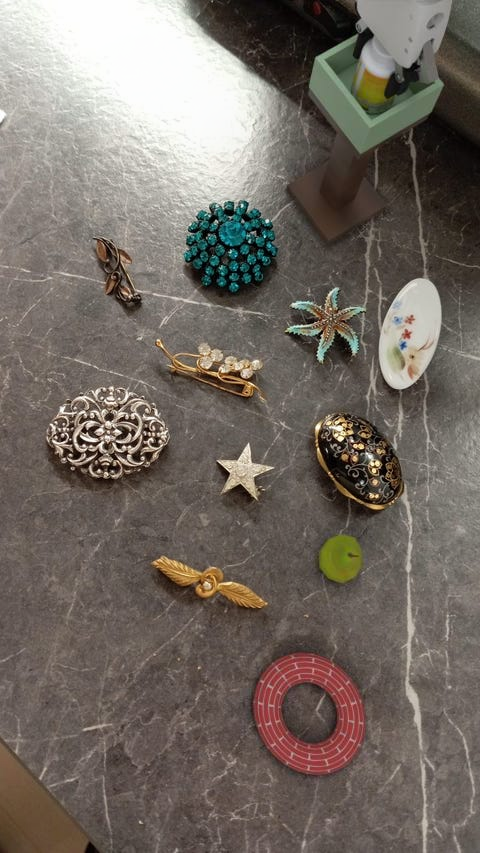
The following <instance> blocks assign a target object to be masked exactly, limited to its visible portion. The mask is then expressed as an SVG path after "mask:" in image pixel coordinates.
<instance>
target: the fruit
mask: <svg viewBox="0 0 480 853" xmlns="http://www.w3.org/2000/svg"><path fill="white" fill-rule="evenodd" d="M363 560H364V559H363V550H362V548H361V546H360V544H359V543H358V541H357V539H356V538H355V537H354V536H351V535H347V534H342V533H341V534H338V535H336V536H335V535H334V536H333V537H331V538H328V539H327V540H326V541H325V543H324V544H323V546H322V547H321V548H320V550H319V551H318V567H319V569H320V570H321V571H322V572H323V574H324V575H325V577H327V579H329V580H331V581H334V582H337V583H340V584H344V583H346V582H349V581H350V580H353V579H355V578H356V577H357V576H358V574H359V572H360V571H361V569H362V568H363V566H364V561H363Z"/></svg>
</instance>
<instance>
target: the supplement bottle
mask: <svg viewBox="0 0 480 853" xmlns="http://www.w3.org/2000/svg"><path fill="white" fill-rule="evenodd" d="M393 73H395V60H394V58H393V57H392V56H391V55H390V54H389V52H388V51H387V50H386V49H385V47H384V46H383V45H382V44H381V42H380V41H379V40H378V39H377V37H376V36H375V35H374V37H373V38H371V39H370V40H368V41H367V42H366V44H365V45H364V47H363V49H362V52H361V55H360V59H359V62H358V66H357V69H356V72H355V76H354V79H353V83H352V86H351V94H352V96H353V97H354V98H355V100H356V101H357V102H358V103H359V105H360V106H361V107H362V109H363V110H364V111H365V112H367V113H380V112H383V111H385V110H386V109H388V108H389V107H390V106H391V104H392V103H393V100H394V98H395V95H394V96H392V97H391V98H389V99H386V98H385V96H384V92H385V89H386V86H387V84H388V81H389V78H390V76H391V75H392V74H393Z"/></svg>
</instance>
